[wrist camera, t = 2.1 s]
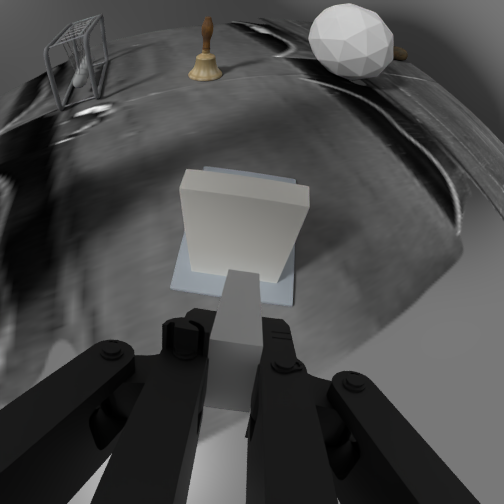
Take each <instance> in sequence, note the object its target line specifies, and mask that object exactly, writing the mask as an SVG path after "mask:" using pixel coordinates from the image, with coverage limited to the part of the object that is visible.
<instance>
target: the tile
mask: <svg viewBox="0 0 504 504" xmlns="http://www.w3.org/2000/svg"><path fill="white" fill-rule="evenodd" d="M179 190H180V198H181V205H182V213H183V220H184V227H185V233H186V240H187V246H188V253H189V259H190V265H191V271H194V272H200V273H207V274H213V275H220V276H227V274H228V270H229V269H231V270H238V271H245V272H252V273H259V278H260V281H263V282H270V283H277V282H278V280H279V277H280V275H281V273H282V271H283V268H284V266H285V264H286V262H287V259H288V257H289V255H290V252H291V250H292V248H293V245H294V243H295V241H296V238H297V236H298V234H299V231H300V229H301V227H302V224H303V222H304V220H305V217H306V215H307V212H308V210H309V208H310V199H309V186H304V185H298V184H292V183H286V182H280V181H274V180H268V179H262V178H255V177H248V176H241V175H234V174H226V173H218V172H210V171H201V170H192V169H186V171H185V174H184V177H183V180H182V182H181V185H180V188H179Z"/></svg>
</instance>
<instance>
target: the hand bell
mask: <svg viewBox="0 0 504 504" xmlns="http://www.w3.org/2000/svg"><path fill="white" fill-rule="evenodd" d="M212 33H213V23H212V19H211V17H205V20H204V22H203V25H202V36H203V50H202V54H199V55H198V56H197V57H196V63H195V66H194V68H193V69H192V70H191V71H190V72H189V74H188V76H189V78H191V79H193V80H198V81H210V80H215V79H218V78H220V77H221V76H222V72H221V70H219V69H218V67H217V65H216V60H215V55H213V54H211V53H210V39H211V36H212Z"/></svg>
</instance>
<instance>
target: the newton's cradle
mask: <svg viewBox="0 0 504 504" xmlns="http://www.w3.org/2000/svg"><path fill="white" fill-rule="evenodd" d="M95 17H97V18H96V19H95V21H94V22H93V23H92V24H91V21H92V20H93V19H94V18H95ZM91 18H92V20H91V21H90V22H89V23H88V25H89V24H91V26H90V27H89V28H88V30H87V31H85V29H86V28H87V27H88V25H87V26H86V27H85V28H84V29H83V31H82V32H81V33H80V35H79V36H78V34H77V36H78V37H76V38H75V33H74V28H75V27H73V26H75V24H76V23H77V22H74V23H69V24H68V25H67V26H66V27H65V28H64V29H63V30H62V31H61V32H60V33H59V34H58V35H57V36H56V37H55V38H54V39H53V40H52V41H51V42H50V43H49V44H48V45H47V46H46V47H45V49H44V61H45V65H46V69H47V73H48V76H49V80H50V84H51V87H52V91H53V94H54V97H55V101H56V104H57V107H58V109H59V110H60V111H62V110H64V108H65V107H67V106H70V105H73V104H77V103H80V102H83V101H86V100H89V99H93V98H95V99H99V98H100V95H101V90H102V86H103V81H104V77H105V72H106V68H107V64H108V51H107V44H106V37H105V27H104V18H103V14H99V15H98V16H94V17H90V18H87V19H91ZM87 19H84V20H87ZM84 20H81V21H84ZM99 20H100V25H101V33H102V42H103V49H104V56H105V62H101V63H98V64H102V63H104V66H103V70H102V73H101V77H100V81H99V85H98V89H97V85H96V80H95V75H94V69H93V66H95V65H98V64H94V65H93V63H94V57H93V56H92V55H91V53H90V47H89V35H90V33H91V31H92V30H93V28H94V27H95V25H96V24H97V22H98V21H99ZM81 21H78V22H81ZM69 27H70V29H68V28H69ZM67 29H68V31H69V30H70V31H71V37H72V39H70V40H67V39H66V41H64V42H61V43H58V42H59V41H60V40H61V41H62V38H63V37H64V36H65V34H66V33H67V32H68V31H67V32H66V33H65V34H64V35H63V36H62V34H63V33H64V32H65V31H66V30H67ZM75 31H76V29H75ZM84 31H85V34H83V35H82V33H84ZM76 33H77V31H76ZM68 34H69V33H68ZM81 35H82V36H81ZM61 36H62V37H61ZM59 37H61V38H60V39H59ZM69 37H70V35H69ZM71 37H70V38H71ZM81 37H84V38H83V42H84V49H83V45H82V44H80V45H82V54H81V55H82V58H83V50H84V58H83V60H82V62H81V61H80V58H79V56H78V51H77V46H78V44H77V45H76V43H77V42H76V39H77V38H80V39H79V40H80V43H81ZM65 38H66V37H65ZM58 39H59V40H58ZM57 40H58V41H57ZM56 41H57V43H56V44H55V45H53V44H54V43H55V42H56ZM68 41H72V44H73V49H74V54H75V58H74V59H76V60H75V61H76V64H77V70H76V71H75V74H74V76H73V79H72V81H71V83H70V85H69V88H68V90H67V92H66V95H65V97H64V100H63V102H62V104H61V101H60V97H59V94H58V91H57V87H56V83H55V80H54V76H53V72H52V68H51V64H50V60H49V55H48V51H49V49H50V48H52V47H54V46H57V45H60V44H63V43H65V42H67V43H68ZM83 42H82V43H83ZM52 45H53V46H52ZM63 46H64V45H63ZM69 47H70V46H69ZM64 48H65V47H64ZM78 48H79V46H78ZM65 50H66V49H65ZM70 50H71V49H70ZM79 50H80V49H79ZM66 52H67V51H66ZM71 52H72V51H71ZM80 53H81V51H80ZM67 55H68V54H67ZM72 55H73V53H72ZM85 55H86V56H85ZM68 57H69V56H68ZM73 57H74V55H73ZM69 59H70V58H69ZM70 61H71V60H70ZM80 62H81V64H80ZM71 64H72V62H71ZM72 66H73V64H72ZM73 68H74V66H73ZM74 70H75V69H74ZM89 75H90V80H91V85H92V89H93V94H94V97H91V98H87V99H84V100H81V101H78V102H75V103H72V104H69V105H66V103H67V100H68V97H69V95H70V92H71V90H72V87H73V85H74V87H76V88H81V87H83V86H84V85H85V84H86V82H87V78H88V76H89ZM65 105H66V106H65Z"/></svg>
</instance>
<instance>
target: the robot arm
mask: <svg viewBox="0 0 504 504" xmlns="http://www.w3.org/2000/svg"><path fill="white" fill-rule="evenodd" d="M203 406H206V407H212V408H219V409H226V410H234V411H242V412H249V411H250V407H251V414H250V418H249V422H248V427H247V431H246V435H245V437H246V438H248V449H247V450H248V452H247V484H246V504H338V500H339V502H340V504H480V503H479V501H478V500H477V499H476V498H475V497H474V496H473V495H472V493H471V492H470V491H469V490H468V489H467V488H466V487H465V486H464V484H463V483H462V482H461V481H460V480H459V479H458V478H457V476H456V475H455V474H454V473H453V472H452V471H451V470H450V469H449V467H448V466H447V465H446V464H445V463H444V462H443V461H442V459H441V458H440V457H439V456H438V455H437V454H436V453H435V451H434V450H433V449H432V448H431V447H430V446H429V445H428V444H427V443H426V441H425V440H424V439H423V438H422V437H421V436H420V435H419V434H418V433H417V431H416V430H415V429H414V428H413V427H412V426H411V424H410V423H409V422H408V421H407V420H406V419H405V418H404V417H403V415H402V414H401V413H400V412H399V411H398V410H397V409H396V408H395V406H394V405H393V404H392V403H391V402H390V401H389V400H388V399H387V397H386V396H385V395H384V394H383V393H382V392H381V391H380V390H379V388H378V387H377V386H376V385H375V384H374V383H373V382H372V381H371V380H370V379H369V378H368V377H366V376H365V375H363V374H360V373H357V372H353V371H342V372H339V373H336V374H335V375H334V376H333V378H332V381H329V380H325V379H321V378H317V377H314V376H312V375H310V374H308V373H307V370H306V367H305V365H304V364H303V363H302V362H301V361H300V360H298V359H297V358H296V353H295V349H294V344H293V341H292V336H291V331H290V327H289V325H288V324H287V323H286V322H285V321H284V320H283V319H274V318H266V317H262V315H261V296H260V278H259V273H252V272H245V271H238V270H231V269H229V270H228V274H227V277H226V281H225V284H224V288H223V292H222V295H221V299H220V302H219V306H218V310H217V311H210V310H204V309H198V308H194V309H192V310H191V311H189V312H187V314H186V316H185V318H183V317H180V318H173V319H170V320H167V321H166V322H165V323H164V324H162V350H161V352H160V354H157V355H148V356H144V355H134V350H133V348H132V347H131V346H130V345H129V344H127V343H125V342H122V341H119V340H105V341H101V342H98V343H96V344H94V345H93V346H92V347H90V348H89V349H87V350H86V351H84V352H83V353H81V354H80V355H78V356H77V357H75V358H74V359H73V360H71V361H70V362H68V363H67V364H66V365H64V366H62V367H61V368H59V369H58V370H57V371H55V372H54V373H52V374H51V375H49V376H48V377H46V378H45V379H44V380H42V381H41V382H39V383H38V384H36V385H35V386H34V387H32V388H31V389H29V390H28V391H26V392H25V393H24V394H22V395H21V396H19V397H18V398H16V399H15V400H14V401H12V402H11V403H9V404H8V405H6V406H5V407H4V408H2V409H1V410H0V504H67V503H68V502H69V501H70V500H71V499H72V498H73V496H74V495H75V494H76V493H77V492H78V491H79V490H80V489H81V488H82V486H83V485H84V484H85V483H86V482H87V481H88V480H89V479H90V477H91V476H92V475H93V474H94V473H95V472H96V471H97V470H98V469H99V467H100V466H101V465H102V464H103V463H104V462H105V461H106V459H107V458H108V457H109V456H110V455H111V454H112V455H111V457H110V459H109V462H108V464H107V466H106V468H105V471H104V473H103V475H102V477H101V480H100V482H99V484H98V487H97V489H96V492H95V494H94V496H93V499H92V501H91V503H90V504H186V501H187V496H188V490H189V485H190V479H191V474H192V469H193V463H194V458H195V453H196V448H197V443H198V437H199V432H200V427H201V422H202V416H203ZM337 498H338V500H337Z"/></svg>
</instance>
